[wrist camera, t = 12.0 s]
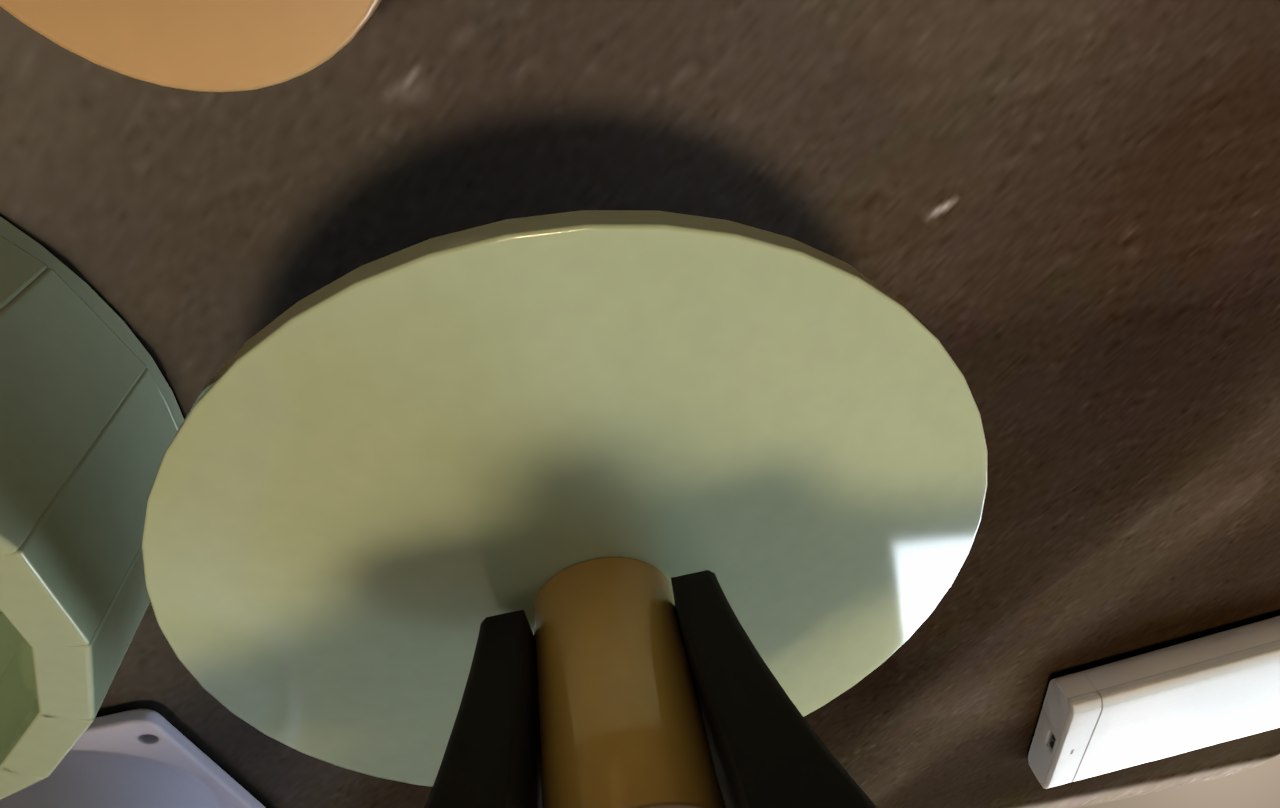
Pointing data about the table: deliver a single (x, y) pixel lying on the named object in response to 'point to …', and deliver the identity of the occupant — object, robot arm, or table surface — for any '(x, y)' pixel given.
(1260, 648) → the hard drive
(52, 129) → the table surface
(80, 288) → the tin
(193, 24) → the spool
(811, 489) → the lid
